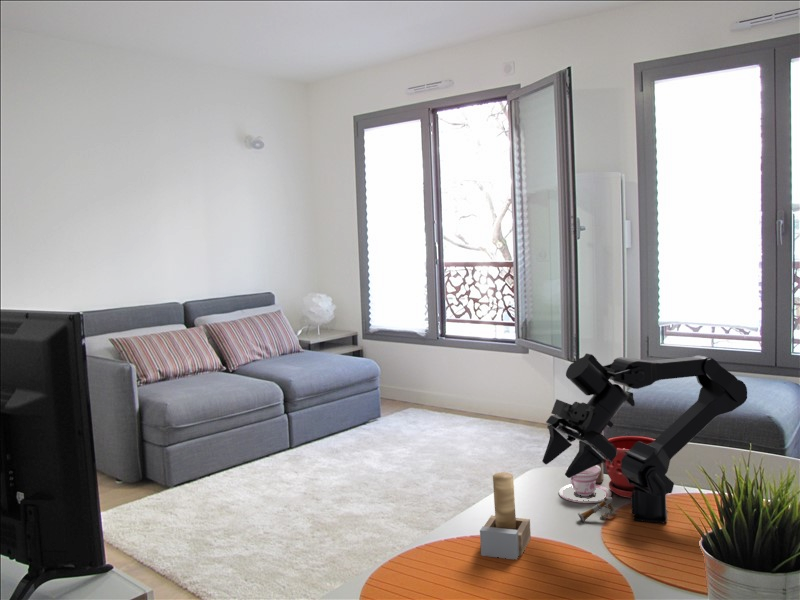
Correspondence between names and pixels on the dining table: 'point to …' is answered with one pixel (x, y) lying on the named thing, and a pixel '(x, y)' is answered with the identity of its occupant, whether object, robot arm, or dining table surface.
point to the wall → (499, 542)
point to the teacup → (585, 484)
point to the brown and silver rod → (596, 508)
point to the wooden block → (601, 475)
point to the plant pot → (614, 469)
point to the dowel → (504, 500)
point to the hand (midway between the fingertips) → (555, 469)
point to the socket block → (522, 528)
